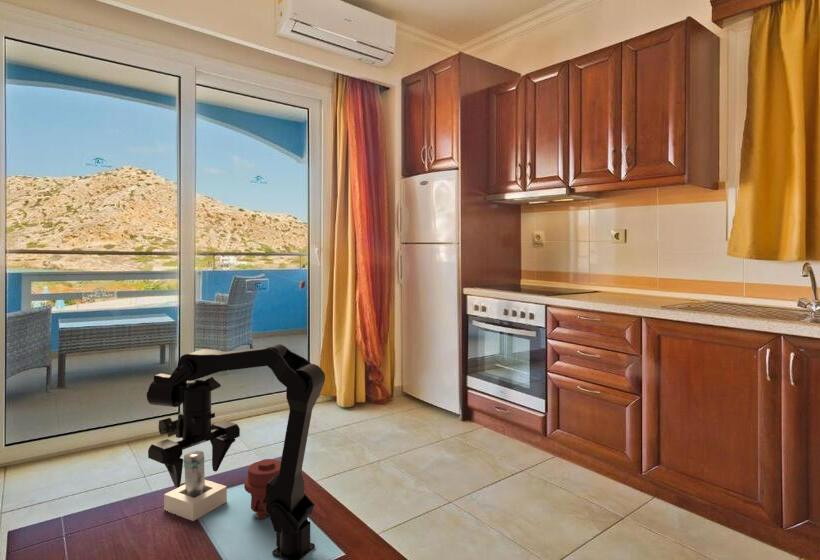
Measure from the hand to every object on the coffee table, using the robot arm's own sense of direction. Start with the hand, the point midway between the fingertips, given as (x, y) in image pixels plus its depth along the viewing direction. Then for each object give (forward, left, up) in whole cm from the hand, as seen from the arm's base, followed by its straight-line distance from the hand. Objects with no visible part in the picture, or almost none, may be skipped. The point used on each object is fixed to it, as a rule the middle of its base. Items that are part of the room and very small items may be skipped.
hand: (196, 478), depth 106 cm
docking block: (+11, -9, -13) cm, 19 cm away
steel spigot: (+11, -9, -13) cm, 19 cm away
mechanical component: (-6, -15, -13) cm, 21 cm away
